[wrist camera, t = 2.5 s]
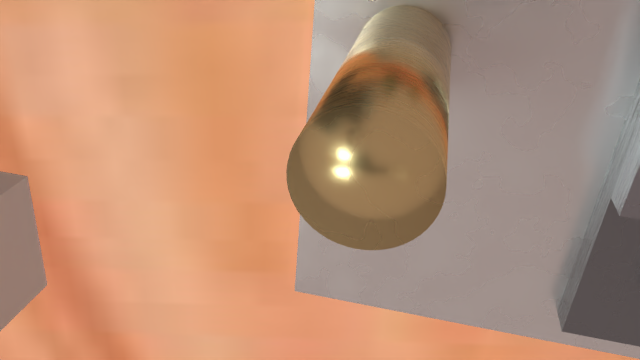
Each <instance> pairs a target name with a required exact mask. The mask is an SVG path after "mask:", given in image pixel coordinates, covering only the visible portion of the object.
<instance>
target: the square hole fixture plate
mask: <svg viewBox="0 0 640 360" xmlns="http://www.w3.org/2000/svg"><path fill="white" fill-rule="evenodd" d="M398 5H411V6H416V7H419V8H422V9H425V10H427V11H429V12H430V13H432V14H433V15H434V16H435V17H437V18H438V19H439V20H440V22H441V23H442V24H443V26H444V27H445V29H446V31H447V33H448V35H449V39H450V43H451V73H450V101H449V129H448V158H447V186H446V195H445V199H444V203H443V206H442V208H441V210H440V213H439V215H438V216H437V218H436V219H435V221H434V222H433V223H432V224H431V226H430V227H429V228H428V229H427V230H426V231H425V232H423V233H422V234H421V235H420V236H418V237H417V238H415V239H414V240H412V241H410V242H408V243H406V244H403V245H400V246H398V247H394V248H390V249H384V250H361V249H354V248H350V247H346V246H343V245H340V244H338V243H335V242H333V241H331V240H329V239H327V238H326V237H324V236H323V235H321V234H319V233H318V232H317V231H316V230H314V229H313V228H312V227H311V226H310V225H309V224H308V223H307V222H306V221H305V220H304V219H303V217H302V216H301V215H300V224H299V238H298V252H297V267H296V281H295V291H298V292H303V293H308V294H313V295H318V296H323V297H328V298H333V299H338V300H343V301H348V302H353V303H359V304H364V305H369V306H374V307H379V308H384V309H389V310H394V311H399V312H404V313H409V314H414V315H419V316H425V317H430V318H435V319H440V320H445V321H450V322H455V323H460V324H465V325H470V326H475V327H480V328H485V329H491V330H496V331H501V332H506V333H511V334H516V335H521V336H526V337H531V338H536V339H541V340H546V341H552V342H557V343H562V344H567V345H572V346H577V347H582V348H587V349H592V350H597V351H602V352H607V353H612V354H618V355H623V356H628V357H633V358H638V359H640V0H315V7H314V21H313V36H312V50H311V65H310V79H309V94H308V108H307V122H308V120H309V118H310V117H311V115H312V113H313V112H314V110H315V108H316V107H317V105H318V103H319V102H320V100H321V98H322V97H323V95H324V93H325V92H326V90H327V88H328V87H329V85H330V83H331V82H332V80H333V78H334V77H335V75H336V73H337V72H338V70H339V68H340V67H341V65H342V63H343V62H344V60H345V58H346V57H347V55H348V53H349V52H350V50H351V48H352V47H353V45H354V43H355V42H356V40H357V38H358V37H359V35H360V33H361V32H362V30H363V28H364V27H365V25H366V24H367V23H368V21H369V20H370V19H371V18H372V17H373V16H375V15H376V14H377V13H379V12H381V11H382V10H384V9H387V8H390V7H393V6H398ZM307 122H306V123H307Z"/></svg>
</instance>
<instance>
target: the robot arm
mask: <svg viewBox="0 0 640 360" xmlns="http://www.w3.org/2000/svg"><path fill="white" fill-rule="evenodd" d="M46 286H47V280H46V275H45V269H44V264H43V259H42V253H41V248H40V242H39V237H38V231H37V226H36V220H35V215H34V209H33V204H32V199H31V193H30V188H29V182H28V177H27V176H23V175H17V174H12V173H6V172H1V171H0V331H1V330H2V329H3V328H4V327H5V326H6V325H7V324H8V323H9V322H10V321H11V320H12V319H13V318H14V317H15V316H16V315H17V314H18V313H19V312H20V311H21V310H22V309H23V308H24V307H25V306H26V305H27V304H28V303H29V302H30V301H31V300H32V299H33V298H34V297H35V296H36V295H37V294H38V293H39V292H41V291H42V290H43V289H44V288H45V287H46Z"/></svg>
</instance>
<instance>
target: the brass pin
mask: <svg viewBox="0 0 640 360" xmlns="http://www.w3.org/2000/svg"><path fill="white" fill-rule="evenodd" d="M450 73H451V43H450V39H449V35H448V33H447V31H446V29H445V27H444V26H443V24H442V23H441V22H440V20H439V19H438V18H437V17H435V16H434V15H433V14H432V13H430V12H429V11H427V10H425V9H422V8H419V7H416V6H411V5H398V6H393V7H390V8H387V9H384V10H382V11H381V12H379V13H377V14H376V15H375V16H373V17H372V18H371V19H370V20H369V21H368V23H367V24H366V25H365V27H364V28H363V30H362V32H361V33H360V35H359V37H358V38H357V40H356V42H355V43H354V45H353V47H352V48H351V50H350V52H349V53H348V55H347V57H346V58H345V60H344V62H343V63H342V65H341V67H340V68H339V70H338V72H337V73H336V75H335V77H334V78H333V80H332V82H331V83H330V85H329V87H328V88H327V90H326V92H325V93H324V95H323V97H322V98H321V100H320V102H319V103H318V105H317V107H316V108H315V110H314V112H313V113H312V115H311V117H310V118H309V120H308V122H307V123H306V125H305V127H304V128H303V130H302V132H301V133H300V135H299V137H298V138H297V140H296V142H295V143H294V145H293V148H292V150H291V152H290V155H289V159H288V164H287V184H288V189H289V193H290V196H291V199H292V201H293V203H294V205H295V207H296V209H297V210H298V212H299V213H300V215H301V216H302V217H303V219H304V220H305V221H306V222H307V223H308V224H309V225H310V226H311V227H312V228H313V229H314V230H316V231H317V232H318V233H319V234H321V235H323V236H324V237H326V238H327V239H329V240H331V241H333V242H335V243H338V244H340V245H343V246H346V247H350V248H354V249H361V250H384V249H390V248H394V247H398V246H400V245H403V244H406V243H408V242H410V241H412V240H414V239H415V238H417V237H418V236H420V235H421V234H422V233H423V232H425V231H426V230H427V229H428V228H429V227H430V226H431V224H432V223H433V222H434V221H435V219H436V218H437V216H438V215H439V213H440V210H441V208H442V206H443V203H444V199H445V195H446V186H447V158H448V129H449V101H450Z"/></svg>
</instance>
